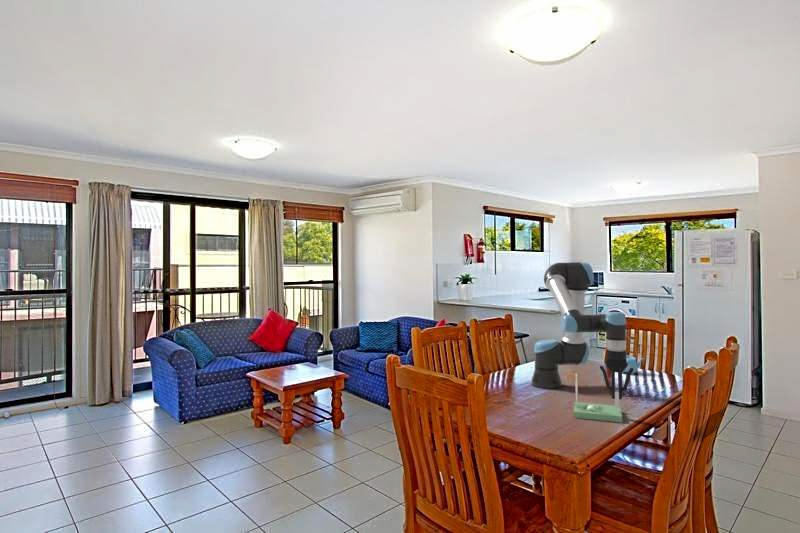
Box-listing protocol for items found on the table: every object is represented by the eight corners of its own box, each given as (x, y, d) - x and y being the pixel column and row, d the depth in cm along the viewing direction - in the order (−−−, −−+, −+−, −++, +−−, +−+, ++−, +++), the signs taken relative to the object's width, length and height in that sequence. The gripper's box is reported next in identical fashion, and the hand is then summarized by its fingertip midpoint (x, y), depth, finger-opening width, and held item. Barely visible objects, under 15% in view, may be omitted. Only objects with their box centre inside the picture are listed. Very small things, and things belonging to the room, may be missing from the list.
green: (567, 416, 192) (566, 377, 192) (568, 407, 205) (568, 369, 205) (622, 422, 185) (621, 381, 185) (620, 412, 198) (619, 373, 197)
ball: (585, 407, 194) (594, 405, 193) (585, 404, 198) (594, 403, 196) (588, 415, 194) (597, 414, 193) (588, 413, 197) (597, 412, 196)
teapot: (610, 373, 265) (609, 356, 265) (610, 368, 278) (610, 351, 278) (645, 376, 257) (645, 358, 257) (644, 371, 270) (644, 354, 270)
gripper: (598, 350, 190) (599, 407, 190) (634, 352, 185) (635, 411, 185) (599, 347, 197) (599, 402, 197) (633, 349, 192) (634, 405, 192)
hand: (617, 406), depth 191 cm, fingers closed
